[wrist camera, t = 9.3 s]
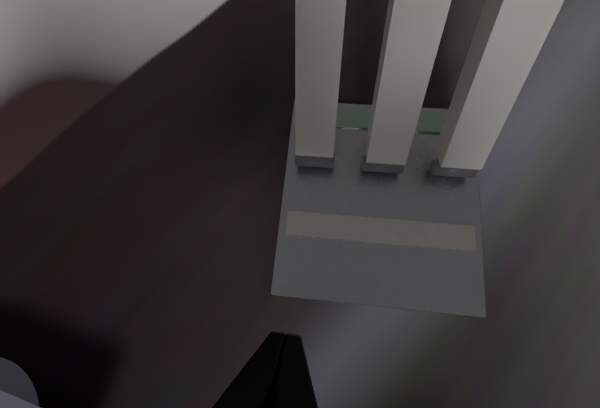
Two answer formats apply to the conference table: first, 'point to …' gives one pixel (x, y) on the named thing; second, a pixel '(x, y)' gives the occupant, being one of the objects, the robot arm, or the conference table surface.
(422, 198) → the panel
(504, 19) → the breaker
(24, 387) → the wedge on round base
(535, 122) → the conference table surface
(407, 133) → the grey long bar piece
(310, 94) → the tripped breaker
